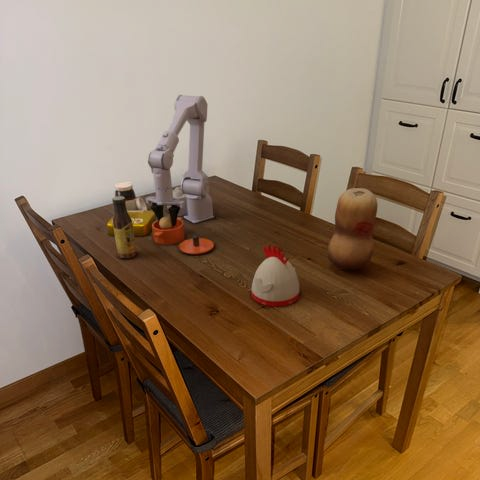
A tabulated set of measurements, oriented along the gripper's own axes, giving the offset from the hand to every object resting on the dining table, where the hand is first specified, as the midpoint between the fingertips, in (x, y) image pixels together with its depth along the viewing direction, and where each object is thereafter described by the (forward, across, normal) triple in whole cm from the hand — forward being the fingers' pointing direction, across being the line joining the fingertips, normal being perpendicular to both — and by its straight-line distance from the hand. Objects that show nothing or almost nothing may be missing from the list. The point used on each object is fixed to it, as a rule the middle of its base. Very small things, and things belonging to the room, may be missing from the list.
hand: (167, 224), depth 169 cm
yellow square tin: (+5, -18, +3) cm, 19 cm away
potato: (+1, 0, 0) cm, 1 cm away
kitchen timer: (+6, +49, -24) cm, 54 cm away
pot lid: (+5, +13, -4) cm, 15 cm away
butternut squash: (+6, +65, -1) cm, 66 cm away
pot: (+5, 0, 0) cm, 5 cm away
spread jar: (+5, -26, +16) cm, 31 cm away
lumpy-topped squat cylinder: (+5, -8, +26) cm, 28 cm away
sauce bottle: (+6, -6, -17) cm, 19 cm away
